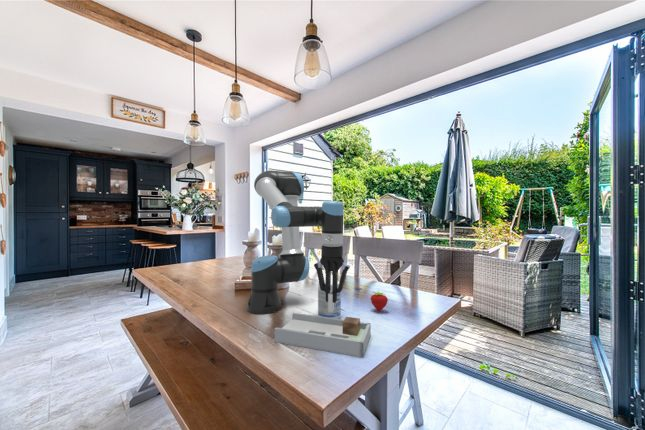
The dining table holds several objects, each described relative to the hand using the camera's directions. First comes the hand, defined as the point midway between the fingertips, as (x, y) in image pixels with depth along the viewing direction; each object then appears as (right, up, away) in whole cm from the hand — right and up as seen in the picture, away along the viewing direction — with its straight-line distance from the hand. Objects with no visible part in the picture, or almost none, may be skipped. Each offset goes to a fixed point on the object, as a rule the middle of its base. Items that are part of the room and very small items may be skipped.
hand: (331, 310), depth 96 cm
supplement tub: (0, -9, +17) cm, 19 cm away
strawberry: (+22, -9, +23) cm, 33 cm away
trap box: (-3, -9, -3) cm, 9 cm away
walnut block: (+7, -6, -3) cm, 10 cm away
